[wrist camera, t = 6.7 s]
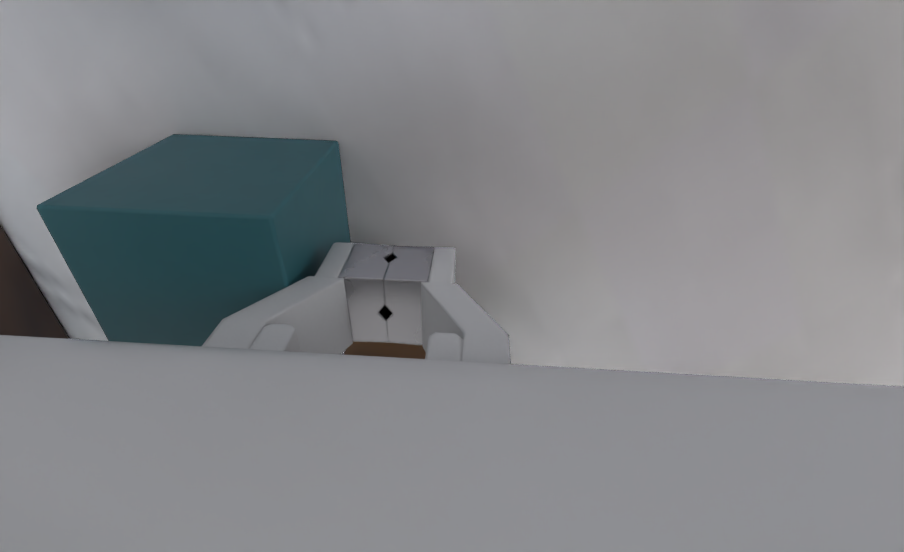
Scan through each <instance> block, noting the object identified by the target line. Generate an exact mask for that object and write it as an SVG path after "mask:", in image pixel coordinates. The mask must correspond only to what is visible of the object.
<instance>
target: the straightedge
mask: <svg viewBox="0 0 904 552" xmlns="http://www.w3.org/2000/svg"><path fill="white" fill-rule="evenodd" d="M0 335H11V336H29V337H46V338H64V339H69V338H68V336H67V335H66V333H65V331H64V330H63V328H62V326H61V325H60V323H59V321H58V320H57V318H56V317H55V315H54V313H53V312H52V310H51V308H50V307H49V305H48V303H47V302H46V300H45V298H44V297H43V295H42V293H41V292H40V290H39V289H38V287H37V285H36V284H35V282H34V280H33V279H32V277H31V275H30V274H29V272H28V270H27V269H26V267H25V265H24V264H23V262H22V261H21V259H20V257H19V256H18V254H17V252H16V251H15V249H14V247H13V246H12V244H11V242H10V241H9V239H8V238H7V236H6V234H5V233H4V231H3V229H2V228H1V226H0Z"/></svg>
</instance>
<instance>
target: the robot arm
mask: <svg viewBox="0 0 904 552" xmlns="http://www.w3.org/2000/svg"><path fill="white" fill-rule="evenodd" d="M455 267H456V249H455V247H435V248H434V247H412V246H390V245H375V244H360V243H356V244H355V243H342V242H336V243H334V244H333V245H332V246H331V248H330V250H329V252H328V253H327V255H326V257H325V259H324V260H323V262H322V264H321V266H320V267H319V269H318V271H317V273H316V274H315V276H308V277H306V278H304V279H302V280H300V281H298V282H296V283H294V284H292V285H290V286H288V287H286V288H284V289H282V290H280V291H278V292H276V293H274V294H272V295H270V296H268V297H266V298H264V299H262V300H260V301H258V302H256V303H254V304H252V305H250V306H248V307H246V308H244V309H242V310H240V311H238V312H236V313H234V314H232V315H230V316H228V317H226V318H224V319H222V320H221V322H220V323H219V324H218V326H217V327H216V328H215V329H214V331H213V332H212V333H211V335H210V336H209V337H208V339H207V340H206V341H205V342H204V344H203V345H202V346H186V345H169V344H151V343H134V342H116V341H99V340H81V339H64V338H46V337H29V336H11V335H0V552H904V387H903V386H885V385H868V384H850V383H832V382H814V381H797V380H780V379H762V378H745V377H728V376H711V375H693V374H676V373H659V372H641V371H624V370H607V369H589V368H572V367H554V366H537V365H519V364H511V359H510V344H509V335H508V334H507V333H506V332H505V331H504V330H503V329H502V328H501V327H500V326H499V325H498V324H497V323H496V322H495V321H494V320H493V319H492V318H491V317H490V316H489V315H488V314H487V313H486V312H485V311H484V310H483V309H482V308H481V307H480V306H479V305H478V304H477V303H476V302H475V301H474V300H473V299H472V298H471V297H470V296H469V295H468V294H467V293H466V292H465V291H464V290H463V289H462V288H461V287H460V286H459V285H458V284H455ZM353 342H383V343H398V344H410V345H422V346H423V349H424V350H425V352H426V356H425V359H414V358H396V357H379V356H361V355H344V354H341V353H342V352H343V351H345V350H346V349H347V348H348V347H349V346H350V345H351V344H353Z"/></svg>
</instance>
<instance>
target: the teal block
mask: <svg viewBox="0 0 904 552" xmlns="http://www.w3.org/2000/svg"><path fill="white" fill-rule="evenodd" d="M37 210H38V212H39V213H40V215H41V217H42V219H43V221H44V223H45V225H46V226H47V228H48V230H49V232H50V234H51V236H52V237H53V239H54V241H55V243H56V245H57V247H58V248H59V250H60V252H61V254H62V256H63V258H64V259H65V261H66V263H67V265H68V267H69V269H70V271H71V272H72V274H73V276H74V278H75V280H76V282H77V283H78V285H79V287H80V289H81V291H82V293H83V294H84V296H85V298H86V300H87V302H88V304H89V305H90V307H91V309H92V311H93V313H94V315H95V317H96V318H97V320H98V322H99V324H100V326H101V328H102V329H103V331H104V333H105V335H106V337H107V339H108V340H109V341H116V342H134V343H151V344H169V345H186V346H202V345H203V344H204V342H205V341H206V340H207V339H208V337H209V336H210V335H211V333H212V332H213V331H214V329H215V328H216V327H217V326H218V324H219V323H220V322H221V320H222V319H224V318H226V317H228V316H230V315H232V314H234V313H236V312H238V311H240V310H242V309H244V308H246V307H248V306H250V305H252V304H254V303H256V302H258V301H260V300H262V299H264V298H266V297H268V296H270V295H272V294H274V293H276V292H278V291H280V290H282V289H284V288H286V287H288V286H290V285H292V284H294V283H296V282H298V281H300V280H302V279H304V278H306V277H308V276H315V274H316V273H317V271H318V269H319V267H320V266H321V264H322V262H323V260H324V259H325V257H326V255H327V253H328V252H329V250H330V248H331V246H332V245H333V244H334V243H336V242H342V243H350V235H349V227H348V219H347V210H346V202H345V194H344V186H343V177H342V169H341V161H340V153H339V144H338V142H337V141H327V140H302V139H278V138H253V137H229V136H204V135H180V134H173V135H171V136H169V137H167V138H165V139H164V140H162V141H160V142H158V143H156V144H154V145H152V146H150V147H148V148H146V149H144V150H142V151H141V152H139V153H137V154H135V155H133V156H131V157H129V158H127V159H125V160H123V161H121V162H119V163H117V164H116V165H114V166H112V167H110V168H108V169H106V170H104V171H102V172H100V173H98V174H96V175H94V176H92V177H91V178H89V179H87V180H85V181H83V182H81V183H79V184H77V185H75V186H73V187H71V188H69V189H67V190H66V191H64V192H62V193H60V194H58V195H56V196H54V197H52V198H50V199H48V200H46V201H44V202H43V203H41V204H39V205H37Z"/></svg>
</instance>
